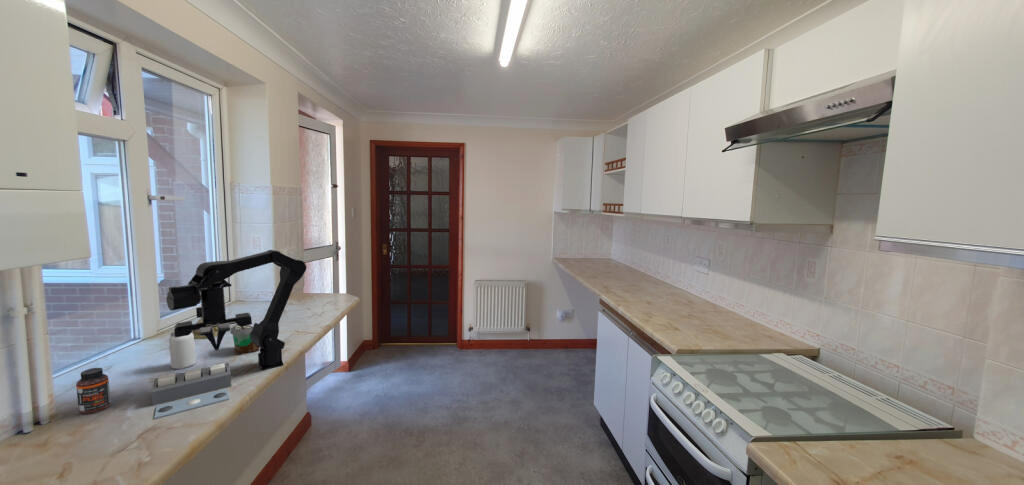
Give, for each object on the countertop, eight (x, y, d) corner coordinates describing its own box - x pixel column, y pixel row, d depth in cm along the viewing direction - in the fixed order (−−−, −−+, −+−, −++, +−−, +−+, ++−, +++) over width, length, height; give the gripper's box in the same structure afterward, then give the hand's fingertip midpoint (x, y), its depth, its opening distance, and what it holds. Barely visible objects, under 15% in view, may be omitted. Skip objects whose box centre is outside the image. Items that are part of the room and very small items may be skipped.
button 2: (224, 368, 121) (224, 363, 120) (225, 372, 118) (225, 367, 118) (210, 371, 118) (210, 366, 118) (210, 376, 116) (210, 370, 115)
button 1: (175, 379, 113) (175, 373, 113) (174, 384, 110) (174, 378, 110) (159, 383, 111) (158, 376, 110) (158, 388, 108) (157, 381, 108)
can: (181, 370, 126) (178, 337, 124) (166, 368, 127) (163, 335, 125) (200, 362, 132) (198, 330, 130) (186, 360, 133) (183, 328, 132)
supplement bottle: (81, 417, 99) (76, 378, 97) (76, 410, 102) (72, 371, 100) (113, 407, 104) (109, 369, 102) (108, 400, 107) (104, 363, 105)
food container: (224, 351, 141) (222, 326, 140) (240, 345, 147) (239, 321, 146) (244, 357, 137) (243, 331, 136) (261, 351, 142) (260, 326, 141)
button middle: (201, 373, 117) (200, 368, 117) (201, 378, 114) (200, 372, 114) (185, 377, 114) (185, 371, 114) (185, 381, 112) (185, 375, 112)
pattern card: (227, 389, 115) (227, 388, 114) (229, 399, 109) (229, 398, 109) (156, 407, 104) (156, 405, 104) (154, 419, 99) (154, 417, 99)
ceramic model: (209, 340, 152) (208, 317, 150) (182, 339, 152) (180, 316, 150) (235, 328, 166) (233, 306, 164) (210, 327, 165) (208, 306, 164)
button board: (229, 374, 124) (228, 362, 124) (231, 386, 117) (230, 374, 116) (155, 390, 113) (154, 378, 112) (152, 405, 105) (151, 392, 105)
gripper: (247, 292, 127) (249, 335, 129) (174, 301, 115) (178, 348, 117) (250, 300, 119) (253, 345, 121) (172, 310, 107) (177, 361, 109)
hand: (216, 349), depth 117 cm, fingers closed
